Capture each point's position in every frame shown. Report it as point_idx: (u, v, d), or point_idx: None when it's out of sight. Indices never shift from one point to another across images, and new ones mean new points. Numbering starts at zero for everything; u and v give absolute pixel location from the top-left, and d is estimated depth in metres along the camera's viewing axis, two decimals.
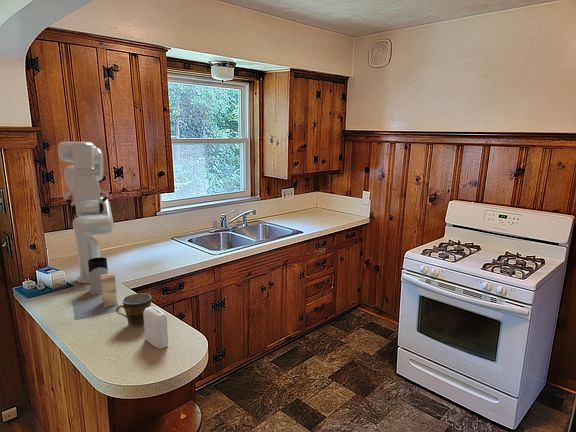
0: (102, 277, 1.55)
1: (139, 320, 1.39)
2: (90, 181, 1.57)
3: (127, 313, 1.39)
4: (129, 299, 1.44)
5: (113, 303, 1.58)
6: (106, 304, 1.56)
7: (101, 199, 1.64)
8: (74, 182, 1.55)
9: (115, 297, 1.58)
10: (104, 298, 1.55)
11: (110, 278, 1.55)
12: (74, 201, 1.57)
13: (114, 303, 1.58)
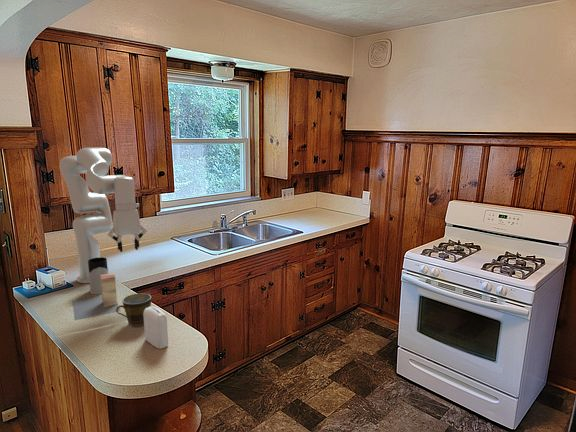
0: (102, 277, 1.55)
1: (139, 320, 1.39)
2: (131, 215, 1.55)
3: (127, 313, 1.39)
4: (129, 299, 1.44)
5: (113, 303, 1.58)
6: (106, 304, 1.56)
7: None
8: (116, 217, 1.53)
9: (115, 297, 1.58)
10: (104, 298, 1.55)
11: (110, 278, 1.55)
12: (120, 238, 1.56)
13: (114, 303, 1.58)
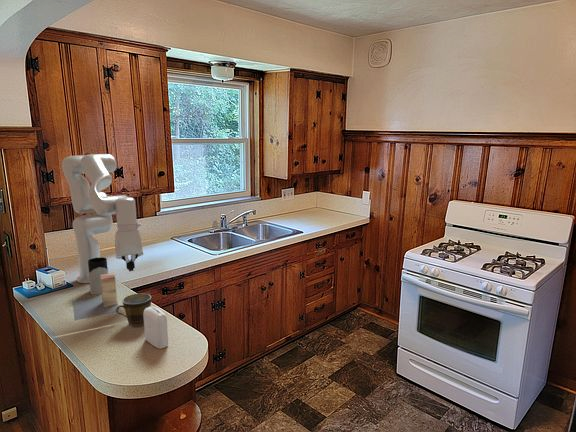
0: (102, 277, 1.55)
1: (139, 320, 1.39)
2: (133, 236, 1.57)
3: (127, 313, 1.39)
4: (129, 299, 1.44)
5: (113, 303, 1.58)
6: (106, 304, 1.56)
7: None
8: (118, 238, 1.55)
9: (115, 297, 1.58)
10: (104, 298, 1.55)
11: (110, 278, 1.55)
12: None
13: (114, 303, 1.58)
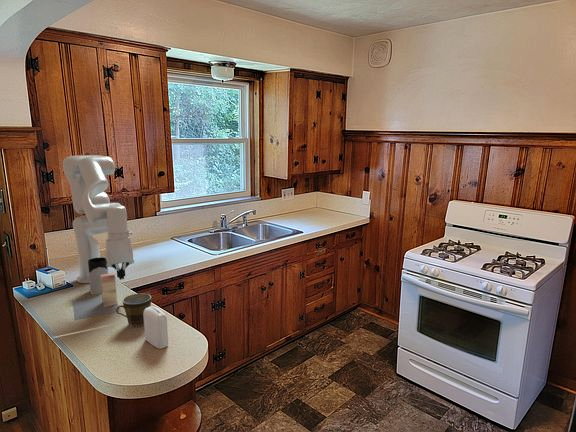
0: (102, 277, 1.55)
1: (139, 320, 1.39)
2: (123, 244, 1.56)
3: (127, 313, 1.39)
4: (129, 299, 1.44)
5: (113, 303, 1.58)
6: (106, 304, 1.56)
7: None
8: (108, 246, 1.53)
9: (115, 297, 1.58)
10: (104, 298, 1.55)
11: (110, 278, 1.55)
12: None
13: (114, 303, 1.58)
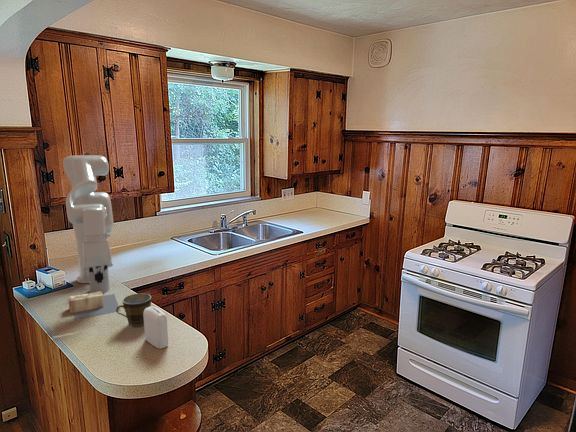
0: None
1: (139, 320, 1.39)
2: (101, 247, 1.52)
3: (127, 313, 1.39)
4: (129, 299, 1.44)
5: (101, 298, 1.55)
6: (101, 304, 1.55)
7: None
8: (85, 249, 1.49)
9: (94, 297, 1.53)
10: (94, 307, 1.54)
11: (70, 305, 1.49)
12: None
13: (101, 297, 1.55)
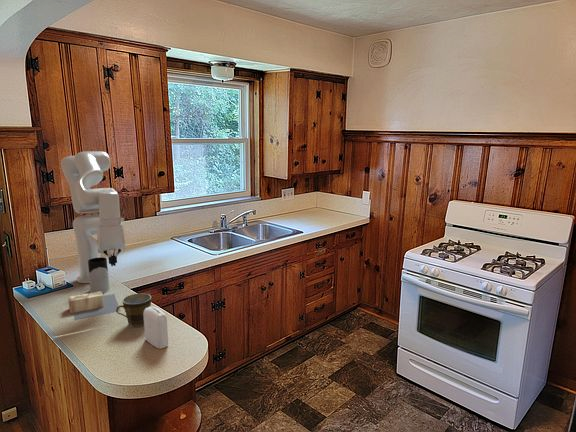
0: None
1: (139, 320, 1.39)
2: (115, 230, 1.54)
3: (127, 313, 1.39)
4: (129, 299, 1.44)
5: (101, 298, 1.55)
6: (101, 304, 1.55)
7: None
8: (100, 232, 1.51)
9: (94, 297, 1.53)
10: (94, 307, 1.54)
11: (70, 305, 1.49)
12: None
13: (101, 297, 1.55)
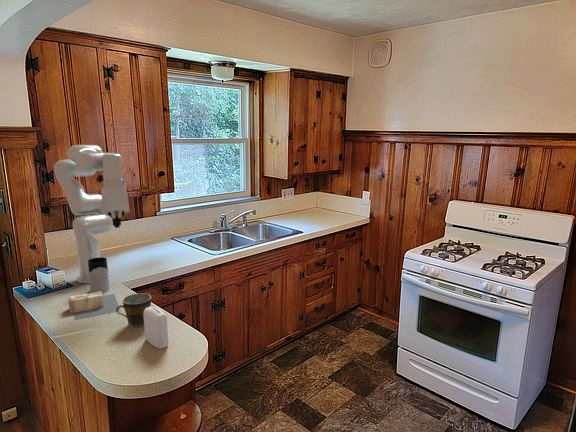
0: None
1: (139, 320, 1.39)
2: (119, 192, 1.58)
3: (127, 313, 1.39)
4: (129, 299, 1.44)
5: (101, 298, 1.55)
6: (101, 304, 1.55)
7: None
8: (104, 193, 1.56)
9: (94, 297, 1.53)
10: (94, 307, 1.54)
11: (70, 305, 1.49)
12: None
13: (101, 297, 1.55)
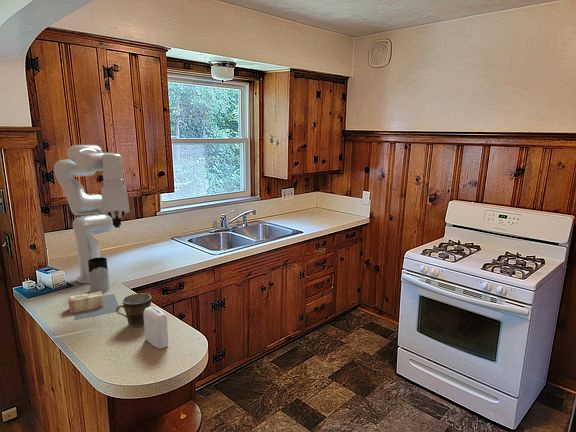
0: None
1: (139, 320, 1.39)
2: (119, 192, 1.58)
3: (127, 313, 1.39)
4: (129, 299, 1.44)
5: (101, 298, 1.55)
6: (101, 304, 1.55)
7: None
8: (104, 193, 1.56)
9: (94, 297, 1.53)
10: (94, 307, 1.54)
11: (70, 305, 1.49)
12: None
13: (101, 297, 1.55)
